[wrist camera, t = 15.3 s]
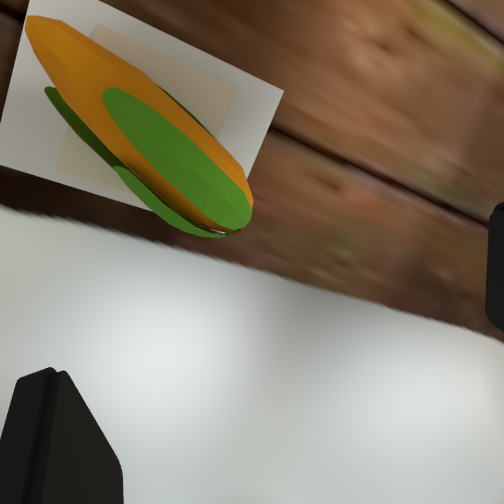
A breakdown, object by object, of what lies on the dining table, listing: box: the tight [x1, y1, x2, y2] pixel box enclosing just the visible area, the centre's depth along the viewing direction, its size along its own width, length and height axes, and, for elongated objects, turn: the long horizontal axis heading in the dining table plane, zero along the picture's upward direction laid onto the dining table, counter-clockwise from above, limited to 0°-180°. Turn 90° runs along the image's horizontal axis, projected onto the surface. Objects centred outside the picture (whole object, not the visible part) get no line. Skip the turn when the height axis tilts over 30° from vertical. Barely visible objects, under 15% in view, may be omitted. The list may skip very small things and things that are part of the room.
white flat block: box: [0, 0, 284, 233], centre depth 35 cm, size 20×14×4 cm
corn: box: [24, 15, 254, 238], centre depth 31 cm, size 7×8×20 cm
